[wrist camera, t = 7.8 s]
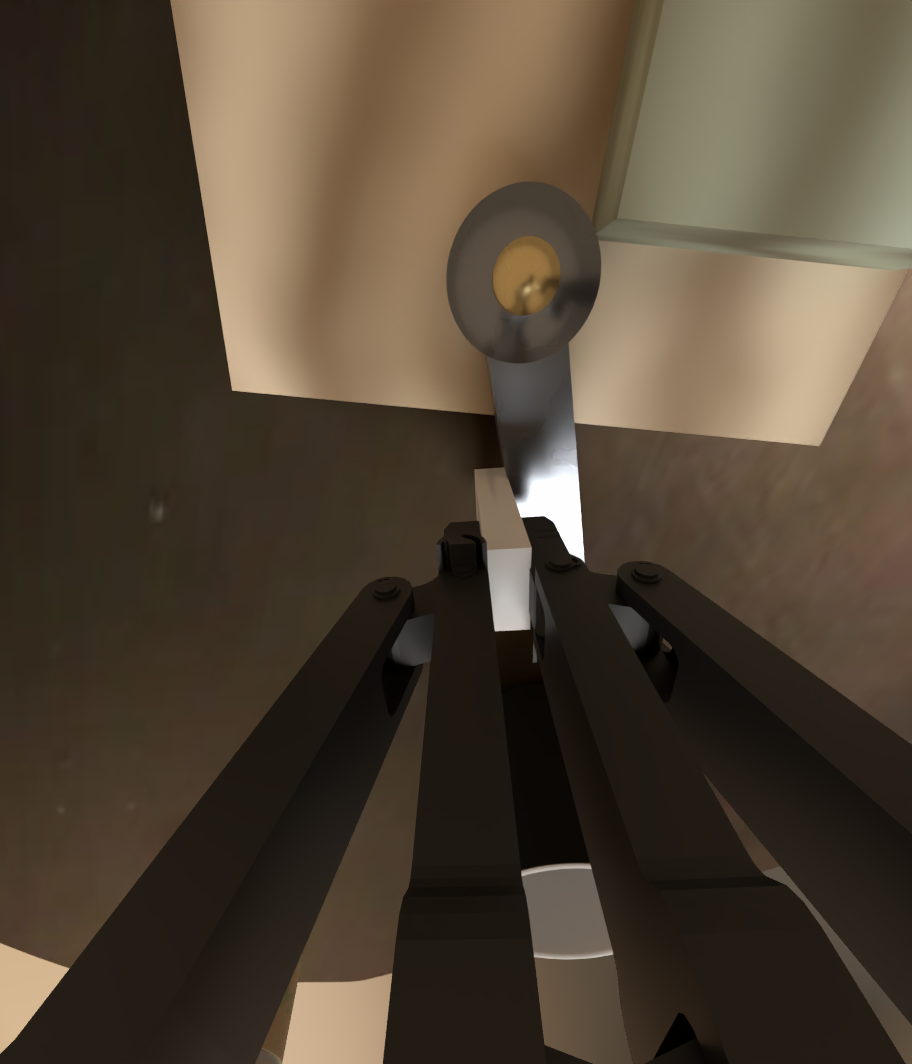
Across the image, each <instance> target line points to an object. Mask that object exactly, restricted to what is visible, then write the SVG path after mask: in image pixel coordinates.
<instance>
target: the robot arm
mask: <svg viewBox="0 0 912 1064" xmlns="http://www.w3.org/2000/svg"><path fill="white" fill-rule="evenodd" d="M474 473H475V493H476V513H477V521H470V522H453V523H450V524H449V525H448V526H447V527H446V528H445V530H444V537H443V538H441V539H440V540H438V542H437V544H436V551H437V560H438V570H439V575H438V577H436V578H435V579H434V580H432V581H430V582H429V583H426V584H423V585H420V586H416V587H413V588H412V586H411V584H410V582H409V581H407V580H406V579H404V578H399V577H384V578H380V579H377V580H375V581H373V582H371V583H369V584H368V585H366V586H365V587H364V588H363V589H362V590H361V592H360V593H359V594H358V596H357V597H356V598H355V599H354V601H353V602H352V603H351V605H350V606H349V607H348V609H347V610H346V611H345V612H344V614H343V615H342V616H341V618H340V619H339V620H338V622H337V623H336V624H335V625H334V627H333V628H332V629H331V631H330V632H329V633H328V634H327V636H326V637H325V638H324V640H323V641H322V642H321V644H320V645H319V646H318V647H317V649H316V650H315V651H314V653H313V654H312V655H311V657H310V658H309V659H308V660H307V662H306V663H305V664H304V666H303V667H302V668H301V669H300V671H299V672H298V673H297V675H296V676H295V677H294V679H293V680H292V681H291V682H290V684H289V685H288V686H287V688H286V689H285V690H284V692H283V693H282V694H281V695H280V697H279V698H278V699H277V701H276V702H275V703H274V704H273V706H272V707H271V708H270V710H269V711H268V712H267V714H266V715H265V716H264V717H263V719H262V720H261V721H260V723H259V724H258V725H257V727H256V728H255V729H254V730H253V732H252V733H251V734H250V736H249V737H248V738H247V739H246V741H245V742H244V743H243V745H242V746H241V747H240V749H239V750H238V751H237V752H236V754H235V755H234V756H233V758H232V759H231V760H230V762H229V763H228V764H227V765H226V767H225V768H224V769H223V771H222V772H221V773H220V774H219V776H218V777H217V778H216V780H215V781H214V782H213V784H212V785H211V786H210V787H209V789H208V790H207V791H206V793H205V794H204V795H203V797H202V798H201V799H200V800H199V802H198V803H197V804H196V806H195V807H194V808H193V809H192V811H191V812H190V813H189V815H188V816H187V817H186V819H185V820H184V821H183V822H182V824H181V825H180V826H179V828H178V829H177V830H176V831H175V833H174V834H173V835H172V837H171V838H170V839H169V841H168V842H167V843H166V844H165V846H164V847H163V848H162V850H161V851H160V852H159V854H158V855H157V856H156V857H155V859H154V860H153V861H152V863H151V864H150V865H149V866H148V868H147V869H146V870H145V872H144V873H143V874H142V876H141V877H140V878H139V879H138V881H137V882H136V883H135V885H134V886H133V887H132V889H131V890H130V891H129V892H128V894H127V895H126V896H125V898H124V899H123V900H122V901H121V903H120V904H119V905H118V907H117V908H116V909H115V911H114V912H113V913H112V914H111V916H110V917H109V918H108V920H107V921H106V922H105V924H104V925H103V926H102V927H101V929H100V930H99V931H98V933H97V934H96V935H95V936H94V938H93V939H92V940H91V942H90V943H89V944H88V946H87V947H86V948H85V949H84V951H83V952H82V953H81V955H80V956H79V957H78V959H77V960H76V961H75V962H74V964H73V965H72V966H71V968H70V969H69V970H68V972H67V973H66V974H65V975H64V977H63V978H62V979H61V981H60V982H59V983H58V985H57V986H56V987H55V988H54V990H53V991H52V992H51V994H50V995H49V996H48V998H47V999H46V1000H45V1001H44V1003H43V1004H42V1005H41V1007H40V1008H39V1009H38V1010H37V1012H36V1013H35V1014H34V1016H33V1017H32V1018H31V1019H30V1021H29V1022H28V1023H27V1025H26V1026H25V1027H24V1029H23V1030H22V1031H21V1032H20V1034H19V1035H18V1036H17V1038H16V1039H15V1040H14V1041H13V1042H12V1043H11V1044H10V1045H9V1046H8V1047H7V1048H6V1049H5V1050H4V1051H3V1052H2V1053H1V1054H0V1064H255V1063H256V1060H257V1058H258V1056H259V1053H260V1051H261V1049H262V1046H263V1044H264V1042H265V1039H266V1037H267V1034H268V1032H269V1030H270V1027H271V1025H272V1023H273V1020H274V1018H275V1016H276V1013H277V1011H278V1009H279V1006H280V1004H281V1002H282V999H283V997H284V994H285V992H286V990H287V987H288V985H289V983H290V980H291V978H292V976H293V973H294V971H295V969H296V966H297V964H298V962H299V959H300V957H301V954H302V952H303V950H304V947H305V945H306V943H307V940H308V938H309V936H310V933H311V931H312V929H313V926H314V924H315V922H316V919H317V917H318V914H319V912H320V910H321V907H322V905H323V903H324V900H325V898H326V896H327V893H328V891H329V889H330V886H331V884H332V881H333V879H334V877H335V874H336V872H337V870H338V867H339V865H340V863H341V860H342V858H343V856H344V853H345V851H346V849H347V846H348V844H349V841H350V839H351V837H352V834H353V832H354V830H355V827H356V825H357V823H358V820H359V818H360V816H361V813H362V811H363V809H364V806H365V804H366V801H367V799H368V797H369V794H370V792H371V790H372V787H373V785H374V783H375V780H376V778H377V776H378V773H379V771H380V769H381V766H382V764H383V761H384V759H385V757H386V754H387V752H388V750H389V747H390V745H391V743H392V740H393V738H394V736H395V733H396V731H397V729H398V726H399V724H400V721H401V719H402V717H403V714H404V712H405V710H406V707H407V705H408V703H409V700H410V698H411V696H412V693H413V691H414V688H415V686H416V684H417V681H418V679H419V677H420V674H421V672H422V668H423V663H425V662H428V661H431V663H430V674H429V685H428V696H427V707H426V718H425V729H424V740H423V751H422V762H421V773H420V784H419V795H418V806H417V817H416V828H415V839H414V850H413V861H412V871H411V879H410V884H409V888H408V890H407V892H406V893H405V895H404V897H403V901H402V905H401V910H400V914H399V922H398V929H397V936H396V945H395V954H394V964H393V973H392V983H391V992H390V1001H389V1012H388V1020H387V1030H386V1039H385V1049H384V1058H383V1064H592V1063H589V1062H587V1061H584V1060H582V1059H578V1058H576V1057H574V1056H571V1055H568V1054H566V1053H564V1052H561V1051H558V1050H556V1049H553V1048H551V1047H548V1046H545V1045H544V1038H543V1030H542V1021H541V1013H540V1003H539V995H538V987H537V978H536V969H535V961H534V952H533V943H532V935H531V927H530V919H529V911H528V905H527V899H526V894H525V890H524V886H523V881H522V874H521V865H520V856H519V847H518V838H517V829H516V820H515V811H514V802H513V793H512V784H511V775H510V766H509V756H508V747H507V738H506V729H505V720H504V711H503V702H502V693H501V684H500V675H499V666H498V656H497V647H496V638H495V631H512V630H530V617H531V621H532V625H533V628H534V635H533V663H534V662H537V658H538V662H539V666H540V670H541V674H542V678H543V682H544V686H545V689H546V693H547V697H548V701H549V705H550V709H551V713H552V717H553V721H554V725H555V728H556V732H557V736H558V740H559V744H560V748H561V752H562V756H563V760H564V763H565V767H566V771H567V775H568V779H569V783H570V787H571V791H572V795H573V799H574V802H575V806H576V810H577V814H578V818H579V822H580V826H581V830H582V834H583V837H584V841H585V845H586V849H587V853H588V857H589V861H590V865H591V869H592V873H593V876H594V880H595V884H596V888H597V892H598V896H599V900H600V904H601V908H602V911H603V915H604V919H605V923H606V927H607V931H608V935H609V939H610V943H611V947H612V950H613V955H614V959H615V964H616V969H617V975H618V985H619V995H620V1004H621V1010H622V1016H623V1021H624V1027H625V1032H626V1036H627V1040H628V1045H629V1049H630V1054H631V1058H632V1062H633V1064H905V1062H904V1060H903V1059H902V1057H901V1056H900V1054H899V1052H898V1051H897V1049H896V1047H895V1046H894V1044H893V1043H892V1041H891V1039H890V1038H889V1036H888V1034H887V1033H886V1031H885V1030H884V1028H883V1027H882V1025H881V1023H880V1021H879V1020H878V1018H877V1017H876V1015H875V1013H874V1012H873V1010H872V1008H871V1007H870V1005H869V1004H868V1002H867V1000H866V999H865V997H864V995H863V994H862V992H861V990H860V989H859V987H858V986H857V984H856V982H855V981H854V979H853V977H852V976H851V974H850V973H849V971H848V969H847V968H846V966H845V964H844V963H843V961H842V960H841V958H840V956H839V955H838V953H837V952H836V950H835V948H834V947H833V945H832V943H831V942H830V940H829V938H828V937H827V935H826V934H825V932H824V930H823V929H822V927H821V926H820V924H819V923H818V922H817V920H816V919H815V917H814V916H813V915H812V913H811V912H810V910H809V909H808V908H807V906H806V905H805V903H804V902H803V901H802V900H801V899H800V898H799V897H798V896H797V895H796V894H795V893H794V892H793V891H792V890H791V889H790V888H789V887H788V886H787V885H784V884H782V883H780V882H778V881H775V880H773V879H771V878H769V877H766V876H765V875H764V874H763V873H762V872H761V871H760V870H759V869H758V868H757V867H756V865H755V864H754V862H753V861H752V859H751V858H750V856H749V855H748V853H747V851H746V849H745V848H744V846H743V844H742V842H741V840H740V839H739V837H738V835H737V833H736V831H735V830H734V828H733V826H732V824H731V823H730V821H729V819H728V817H727V815H726V814H725V812H724V810H723V808H722V807H721V805H720V803H719V801H718V799H717V798H716V796H715V794H714V792H713V790H712V789H711V787H710V785H709V783H708V782H707V780H706V778H705V776H704V774H705V775H706V776H707V778H708V779H709V780H710V781H711V782H712V784H713V785H714V786H715V787H716V788H717V790H718V791H719V792H720V793H721V795H722V796H723V797H724V798H725V799H726V801H727V802H728V803H729V804H730V805H731V807H732V808H733V809H734V810H735V811H736V813H737V814H738V815H739V816H740V818H741V819H742V820H743V821H744V822H745V824H746V825H747V826H748V827H749V828H750V830H751V831H752V832H753V833H754V835H755V836H756V837H757V838H758V839H759V841H760V842H761V843H762V844H763V845H764V847H765V848H766V849H767V850H768V852H769V853H770V854H771V855H772V856H773V858H774V859H775V860H776V861H777V862H778V864H779V865H780V866H781V867H782V868H783V870H784V871H785V872H786V873H787V875H788V876H789V877H790V878H791V879H792V881H793V882H794V883H795V884H796V885H797V886H798V888H799V889H800V890H801V892H802V893H803V894H804V895H805V896H806V898H807V899H808V900H809V901H810V902H811V904H812V905H813V906H814V907H815V908H816V910H817V911H818V912H819V913H820V914H821V916H822V917H823V918H824V919H825V921H826V922H827V923H828V924H829V925H830V927H831V928H832V929H833V930H834V932H835V933H836V934H837V935H838V936H839V938H840V939H841V940H842V941H843V942H844V944H845V945H846V946H847V947H848V949H849V950H850V951H851V952H852V953H853V955H854V956H855V957H856V958H857V959H858V961H859V962H860V963H861V964H862V965H863V967H864V968H865V969H866V970H867V972H868V973H869V974H870V975H871V976H872V978H873V979H874V980H875V981H876V982H877V984H878V985H879V986H880V987H881V988H882V990H883V991H884V992H885V993H886V994H887V996H888V997H889V998H890V999H891V1001H892V1002H893V1003H894V1004H895V1005H896V1007H897V1008H898V1009H899V1010H900V1011H901V1012H902V1014H903V1015H904V1016H905V1018H906V1019H907V1020H908V1021H909V1022H910V1024H911V1025H912V745H911V744H910V743H909V742H907V741H906V740H904V739H903V738H902V737H900V736H899V735H897V734H896V733H895V732H893V731H892V730H891V729H889V728H888V727H886V726H885V725H884V724H882V723H881V722H879V721H878V720H877V719H875V718H874V717H872V716H871V715H870V714H868V713H867V712H866V711H864V710H863V709H861V708H860V707H859V706H857V705H856V704H854V703H853V702H852V701H850V700H849V699H847V698H846V697H845V696H843V695H842V694H841V693H839V692H838V691H836V690H835V689H834V688H832V687H831V686H829V685H828V684H827V683H825V682H824V681H822V680H821V679H820V678H818V677H817V676H816V675H814V674H813V673H811V672H810V671H809V670H807V669H806V668H804V667H803V666H802V665H800V664H799V663H797V662H796V661H795V660H793V659H792V658H790V657H789V656H788V655H786V654H785V653H784V652H782V651H781V650H779V649H778V648H777V647H775V646H774V645H772V644H771V643H770V642H768V641H767V640H765V639H764V638H763V637H761V636H760V635H759V634H757V633H756V632H754V631H753V630H752V629H750V628H749V627H747V626H746V625H745V624H743V623H742V622H740V621H739V620H738V619H736V618H735V617H734V616H732V615H731V614H729V613H728V612H727V611H725V610H724V609H722V608H721V607H720V606H718V605H717V604H715V603H714V602H713V601H711V600H710V599H709V598H707V597H706V596H704V595H703V594H702V593H700V592H699V591H697V590H696V589H695V588H693V587H692V586H690V585H689V584H688V583H686V582H685V581H684V580H682V579H681V578H679V577H678V576H677V575H675V574H674V573H672V572H671V571H670V570H668V569H666V568H664V567H662V566H660V565H657V564H654V563H651V562H646V561H645V562H644V561H635V562H628V563H625V564H623V565H621V566H620V567H619V569H618V572H617V576H614V575H606V574H599V573H594V572H591V571H589V569H588V568H587V566H586V564H585V563H584V562H583V561H582V560H581V559H580V558H578V557H576V556H574V555H571V554H569V552H568V550H567V548H566V546H565V544H564V542H563V540H562V538H561V536H560V534H559V532H558V530H557V528H556V526H555V524H554V522H553V521H551V520H550V519H548V518H547V517H545V516H534V517H521V515H520V512H519V509H518V506H517V503H516V500H515V498H514V495H513V492H512V489H511V486H510V483H509V480H508V478H506V474H505V470H504V468H489V469H474ZM663 638H664V639H665V640H666V641H667V642H668V643H669V644H670V645H671V646H672V650H671V649H669V648H668V647H667V646H666V645H665V644H664V643H663ZM701 770H702V771H703V773H704V774H703V773H702V771H701Z"/></svg>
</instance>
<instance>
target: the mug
mask: <svg viewBox="0 0 912 1064" xmlns="http://www.w3.org/2000/svg"><path fill="white" fill-rule="evenodd" d="M502 702H503V711H504V720H505V729H506V738H507V747H508V756H509V766H510V775H511V784H512V793H513V802H514V811H515V820H516V829H517V838H518V847H519V856H520V865H521V874H522V881H523V886H524V890H525V894H526V899H527V905H528V911H529V919H530V927H531V935H532V943H533V952H534V957H540V958H551V959H583V958H593V957H601V956H606V955H611V954H613V950H612V947H611V943H610V939H609V935H608V931H607V927H606V923H605V919H604V915H603V911H602V908H601V904H600V900H599V896H598V892H597V888H596V884H595V880H594V876H593V873H592V869H591V865H590V861H589V857H588V853H587V849H586V845H585V841H584V837H583V834H582V830H581V826H580V822H579V818H578V814H577V810H576V806H575V802H574V799H573V795H572V791H571V787H570V783H569V779H568V775H567V771H566V767H565V763H564V760H563V756H562V752H561V748H560V744H559V740H558V736H557V732H556V728H555V725H554V721H553V717H552V713H551V709H550V705H549V701H548V697H547V693H546V689H545V686H544V684H528V685H523V686H519V687H516V688H513V689H511V690H509V691H507V692H505V693H504V694H502Z"/></svg>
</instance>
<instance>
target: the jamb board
mask: <svg viewBox="0 0 912 1064" xmlns="http://www.w3.org/2000/svg"><path fill="white" fill-rule="evenodd" d="M171 7H172V13H173V19H174V25H175V32H176V38H177V44H178V51H179V57H180V63H181V70H182V76H183V82H184V89H185V95H186V101H187V107H188V114H189V120H190V126H191V133H192V139H193V145H194V152H195V158H196V164H197V170H198V177H199V183H200V189H201V196H202V202H203V208H204V215H205V221H206V227H207V234H208V240H209V246H210V252H211V259H212V265H213V271H214V278H215V284H216V290H217V297H218V303H219V309H220V316H221V322H222V328H223V334H224V341H225V347H226V353H227V360H228V366H229V372H230V379H231V385H232V391H243V392H254V393H264V394H275V395H285V396H296V397H307V398H317V399H328V400H338V401H349V402H359V403H370V404H381V405H391V406H402V407H412V408H423V409H434V410H444V411H455V412H465V413H476V414H487V415H494V410H493V404H492V397H491V391H490V385H489V378H488V372H487V366H486V360H485V354H483V353H482V352H480V351H479V350H478V349H476V348H475V347H474V346H473V345H472V344H471V343H470V342H469V341H468V340H467V339H466V338H465V336H464V335H463V334H462V332H461V331H460V329H459V327H458V325H457V324H456V322H455V320H454V317H453V314H452V312H451V309H450V305H449V301H448V295H447V288H446V273H447V263H448V258H449V253H450V250H451V247H452V244H453V241H454V238H455V236H456V234H457V232H458V229H459V228H460V226H461V224H462V223H463V221H464V219H465V218H466V217H467V215H468V214H469V213H470V212H471V210H472V209H473V208H474V207H475V206H476V205H477V204H478V203H479V202H480V201H481V200H482V199H484V198H485V197H487V196H488V195H489V194H491V193H492V192H494V191H496V190H498V189H500V188H502V187H504V186H507V185H510V184H514V183H519V182H541V183H546V184H549V185H552V186H555V187H557V188H559V189H561V190H563V191H565V192H566V193H567V194H569V195H570V196H571V197H573V198H574V199H575V200H576V201H577V202H578V203H579V204H580V205H581V207H582V208H583V209H584V211H585V212H586V214H587V215H588V216H589V218H590V220H591V222H592V224H593V226H594V229H595V232H596V235H597V237H598V242H599V246H600V253H601V278H600V285H599V290H598V294H597V297H596V300H595V303H594V306H593V308H592V310H591V312H590V314H589V316H588V318H587V320H586V322H585V323H584V325H583V326H582V328H581V329H580V330H579V332H578V333H577V334H576V335H575V337H574V338H573V339H572V340H570V341H569V355H570V369H571V383H572V396H573V410H574V423H582V424H592V425H603V426H614V427H624V428H635V429H645V430H656V431H666V432H677V433H688V434H698V435H709V436H719V437H730V438H741V439H751V440H762V441H772V442H783V443H793V444H804V445H815V446H820V444H821V442H822V440H823V438H824V436H825V434H826V432H827V430H828V428H829V426H830V424H831V422H832V420H833V418H834V417H835V415H836V413H837V411H838V409H839V407H840V405H841V403H842V401H843V399H844V397H845V395H846V393H847V391H848V389H849V387H850V385H851V383H852V381H853V379H854V377H855V375H856V373H857V371H858V369H859V367H860V365H861V363H862V361H863V359H864V357H865V355H866V353H867V351H868V349H869V347H870V345H871V343H872V341H873V339H874V337H875V336H876V334H877V332H878V330H879V328H880V326H881V324H882V322H883V320H884V318H885V316H886V314H887V312H888V310H889V308H890V306H891V304H892V302H893V300H894V298H895V296H896V294H897V292H898V290H899V288H900V286H901V284H902V282H903V280H904V278H905V276H906V274H907V272H908V270H909V268H912V0H171Z"/></svg>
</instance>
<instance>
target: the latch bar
mask: <svg viewBox="0 0 912 1064" xmlns="http://www.w3.org/2000/svg"><path fill="white" fill-rule="evenodd" d="M600 278H601V253H600V246H599V242H598V237H597V235H596V232H595V229H594V226H593V224H592V222H591V220H590V218H589V216H588V215H587V214H586V212H585V211H584V209H583V208H582V207H581V205H580V204H579V203H578V202H577V201H576V200H575V199H574V198H573V197H571V196H570V195H569V194H567V193H566V192H565V191H563V190H561V189H559V188H557V187H555V186H552V185H549V184H546V183H541V182H519V183H514V184H510V185H507V186H504V187H502V188H500V189H498V190H496V191H494V192H492V193H491V194H489V195H488V196H487V197H485V198H484V199H482V200H481V201H480V202H479V203H478V204H477V205H476V206H475V207H474V208H473V209H472V210H471V212H470V213H469V214H468V215H467V217H466V218H465V219H464V221H463V223H462V224H461V226H460V228H459V229H458V232H457V234H456V236H455V238H454V241H453V244H452V247H451V250H450V253H449V258H448V263H447V273H446V288H447V295H448V301H449V305H450V309H451V312H452V314H453V317H454V320H455V322H456V324H457V325H458V327H459V329H460V331H461V332H462V334H463V335H464V336H465V338H466V339H467V340H468V341H469V342H470V343H471V344H472V345H473V346H474V347H475V348H476V349H478V350H479V351H480V352H482V353H483V354H485V360H486V366H487V372H488V378H489V385H490V391H491V397H492V404H493V410H494V416H495V422H496V429H497V435H498V441H499V448H500V454H501V460H502V466H503V468H504V470H505V474H506V478H508V480H509V483H510V486H511V489H512V492H513V495H514V498H515V500H516V503H517V506H518V509H519V512H520V515H521V517H534V516H545V517H547V518H548V519H550V520H551V521H553V522H554V524H555V526H556V528H557V530H558V532H559V534H560V536H561V538H562V540H563V542H564V544H565V546H566V548H567V550H568V552H569V554H571V555H574V556H576V557H578V558H580V559H581V560H582V561H583V562H584V548H583V535H582V521H581V507H580V493H579V479H578V465H577V452H576V438H575V424H574V410H573V396H572V383H571V369H570V355H569V341H570V340H572V339H573V338H574V337H575V335H576V334H577V333H578V332H579V330H580V329H581V328H582V326H583V325H584V323H585V322H586V320H587V318H588V316H589V314H590V312H591V310H592V308H593V306H594V303H595V300H596V297H597V294H598V290H599V285H600ZM584 563H585V562H584Z"/></svg>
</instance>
